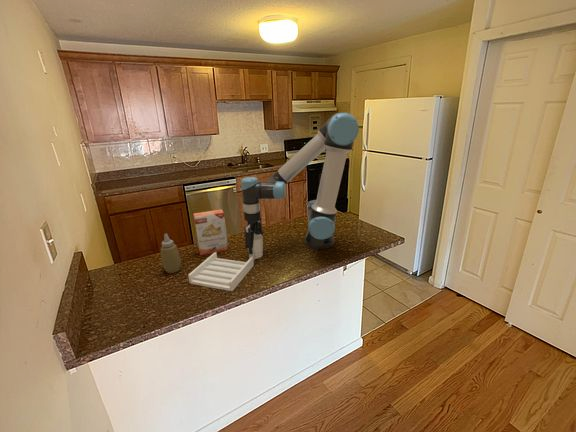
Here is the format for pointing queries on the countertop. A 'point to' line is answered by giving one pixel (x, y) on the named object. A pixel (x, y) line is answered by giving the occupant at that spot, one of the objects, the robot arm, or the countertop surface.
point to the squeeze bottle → (170, 256)
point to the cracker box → (211, 231)
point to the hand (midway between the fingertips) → (255, 254)
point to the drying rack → (220, 273)
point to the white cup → (258, 245)
